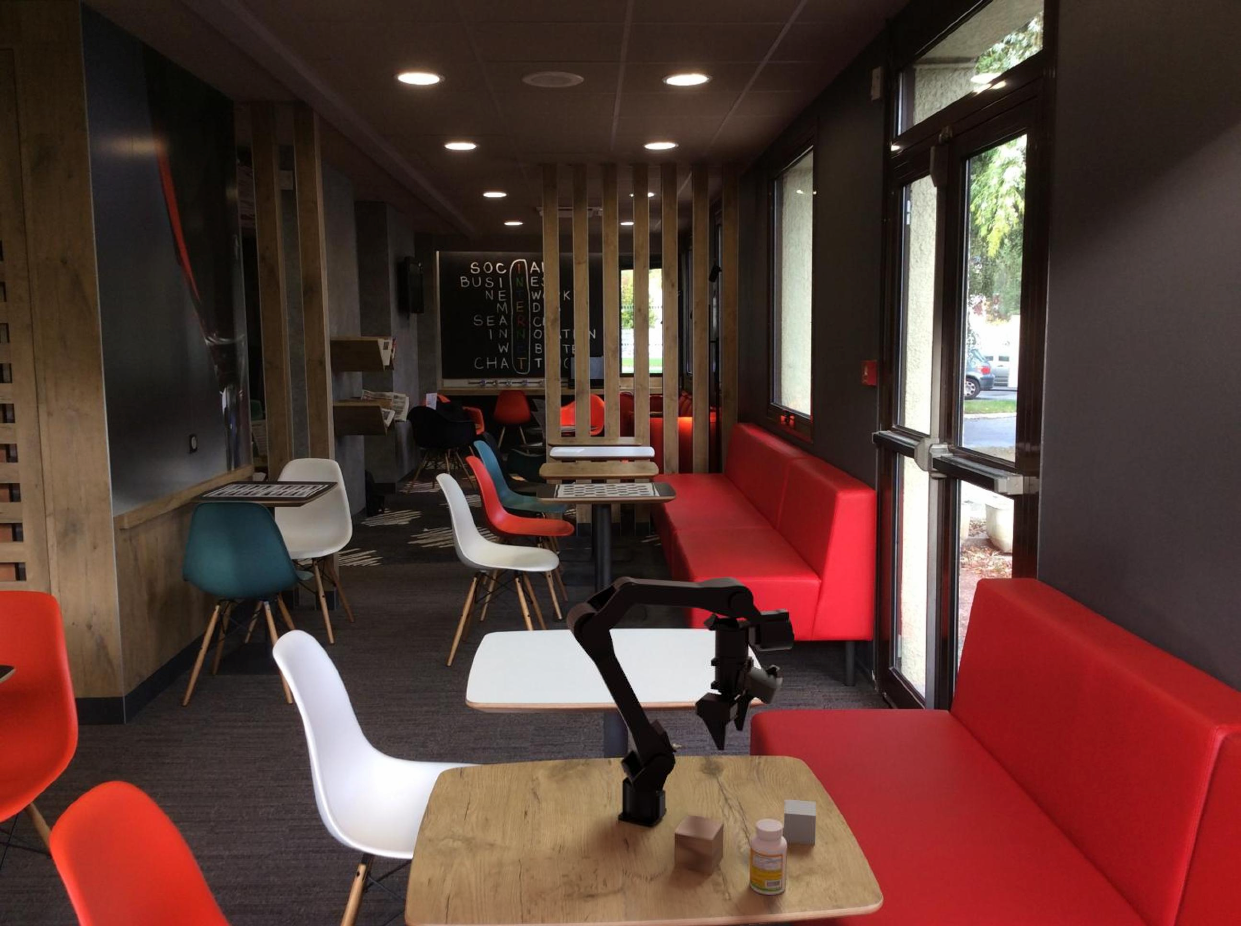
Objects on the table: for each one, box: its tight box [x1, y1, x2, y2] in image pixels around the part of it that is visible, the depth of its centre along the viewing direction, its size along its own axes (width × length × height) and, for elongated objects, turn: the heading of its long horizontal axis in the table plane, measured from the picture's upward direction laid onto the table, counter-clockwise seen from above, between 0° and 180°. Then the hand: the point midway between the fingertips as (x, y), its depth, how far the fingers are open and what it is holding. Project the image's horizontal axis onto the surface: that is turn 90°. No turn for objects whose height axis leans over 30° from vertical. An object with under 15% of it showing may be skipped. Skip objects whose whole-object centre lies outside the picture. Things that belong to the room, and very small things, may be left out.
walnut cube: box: [673, 813, 725, 876], centre depth 162 cm, size 6×6×6 cm
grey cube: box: [783, 799, 817, 846], centre depth 170 cm, size 5×5×5 cm
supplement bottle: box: [749, 818, 788, 896], centre depth 155 cm, size 5×5×10 cm
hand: (730, 740), depth 179 cm, fingers open, 9 cm apart
